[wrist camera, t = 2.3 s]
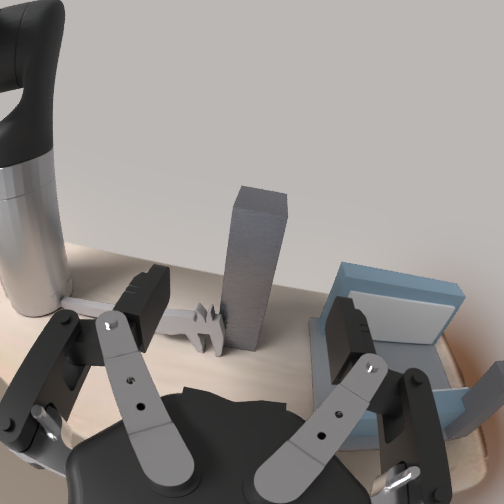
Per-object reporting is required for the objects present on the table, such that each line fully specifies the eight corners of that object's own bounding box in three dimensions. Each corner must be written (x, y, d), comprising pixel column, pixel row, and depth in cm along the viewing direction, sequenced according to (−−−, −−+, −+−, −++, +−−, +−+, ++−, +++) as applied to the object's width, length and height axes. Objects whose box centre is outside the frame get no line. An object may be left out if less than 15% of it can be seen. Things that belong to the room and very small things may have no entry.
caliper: (222, 351, 28) (228, 306, 25) (220, 359, 28) (226, 315, 24) (60, 301, 29) (48, 258, 26) (55, 307, 28) (42, 263, 25)
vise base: (314, 450, 20) (361, 400, 15) (308, 323, 33) (332, 259, 29) (459, 437, 20) (515, 387, 15) (424, 336, 33) (456, 283, 29)
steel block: (215, 344, 29) (233, 206, 21) (223, 312, 33) (241, 185, 25) (254, 351, 29) (287, 217, 21) (258, 318, 33) (286, 193, 25)
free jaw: (330, 451, 19) (384, 398, 14) (328, 407, 23) (371, 343, 18) (466, 436, 19) (524, 383, 14) (456, 403, 23) (506, 348, 18)
